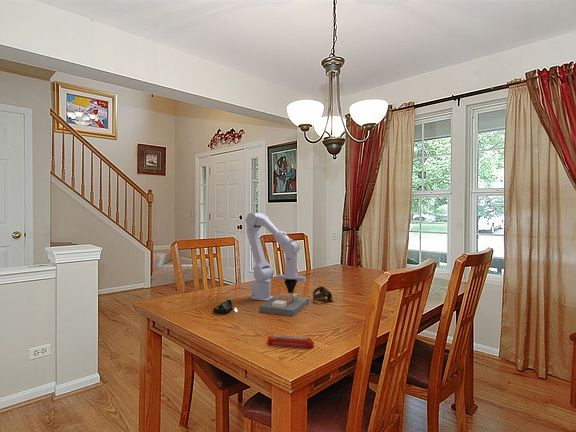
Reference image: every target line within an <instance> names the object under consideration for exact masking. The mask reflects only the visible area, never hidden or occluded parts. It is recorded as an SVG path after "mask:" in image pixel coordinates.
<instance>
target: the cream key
mask: <svg viewBox="0 0 576 432" xmlns="http://www.w3.org/2000/svg"><path fill="white" fill-rule="evenodd" d="M286 306H287V301H281V300H276V301H274V302H273V303H272V307H275V308H285V307H286Z"/></svg>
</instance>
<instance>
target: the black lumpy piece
mask: <svg viewBox="0 0 576 432" xmlns="http://www.w3.org/2000/svg"><path fill="white" fill-rule="evenodd" d="M230 311H235V313H238V309H237V307H234V305H233V301H232V299H231V298H230V299H226V301H223V303H221V304H220V305H217V306H216V307H214V308H213V310H211V312H212V313H213V314H216V315H217V314H218V315H222V314H223V315H224V314H226V313H228V312H230ZM221 313H222V314H221Z"/></svg>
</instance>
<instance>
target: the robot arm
mask: <svg viewBox="0 0 576 432" xmlns="http://www.w3.org/2000/svg"><path fill="white" fill-rule="evenodd" d="M244 221H245V223H246V234H247V238H248V241H249V244H250V245H249V246H250V249H251V252H252V257H253V259H254V262H255V264H254V266H253V269H252V271H253V279H254V280H253V281H252V282H251V287H250V289H251V290H250V291H251V292H250V293H251V294H250V295H251V296H250V300H258V301H266V302H268V301H269V300H271V299H273V298H274V297H275V296H273V295H272V291H271V288H272V283H271V282H272V278H273V277H274V274H275V273H274V269H273V268H272V266H271V264H270V262H268V261H267V260H266V259H267V258H266V256H265V253H264V250H263V245H262V242H261V238H260V236H259V230H260V229H261V228H262V227H264V228H265V229H266V230H267V231H268V232H269V233H270V234H271V235H273V236H274V241H276V242H277V244H278V245H280V247H281V248H282V251H283V253H284V257H285V258H284V260H285V261H284V262H285V264H284V267H285V268H284V269H285V270H284V273H285V274H276V280H284V284H285V286H286V289H287V293H292V295H293V294H294V291H295V288H296V285H297V284H298V281H299V282H306V280H307V277H306V276H302V275H298V253H299V251H300V244H299V243H298V242H297V241H293V238H290V237H289V236H288V234H287V232H286V231H282V230H281V231H280V230H279V229H278V228H277V226H275V224H273V222H272V221H271V220H270V219H269V216H268V215H266V214H265V213H264V212H250V213H248V214H247V216H246V218H245V219H244Z"/></svg>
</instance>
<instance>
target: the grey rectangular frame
mask: <svg viewBox="0 0 576 432" xmlns="http://www.w3.org/2000/svg"><path fill="white" fill-rule="evenodd" d="M278 297H279V294H278V295H275V296H274V297H273V298H271V299H270V300H268V301H266V302H264V303H262V304H261V305H259V313H267V314H273V315H280V316H286V317H287V316H288V317H294V316H296V315H297V314H298V313H299V312H300V311H301V310H303V309H304V308H305V307H306V306H307V305H309V303H310V297H301V296H297V299H296V300H295V301H294V300H292V302H291V303H290V304H287V306H286V307H285V308H275V307H272V303H273V302H274V301H276V300H278Z"/></svg>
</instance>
